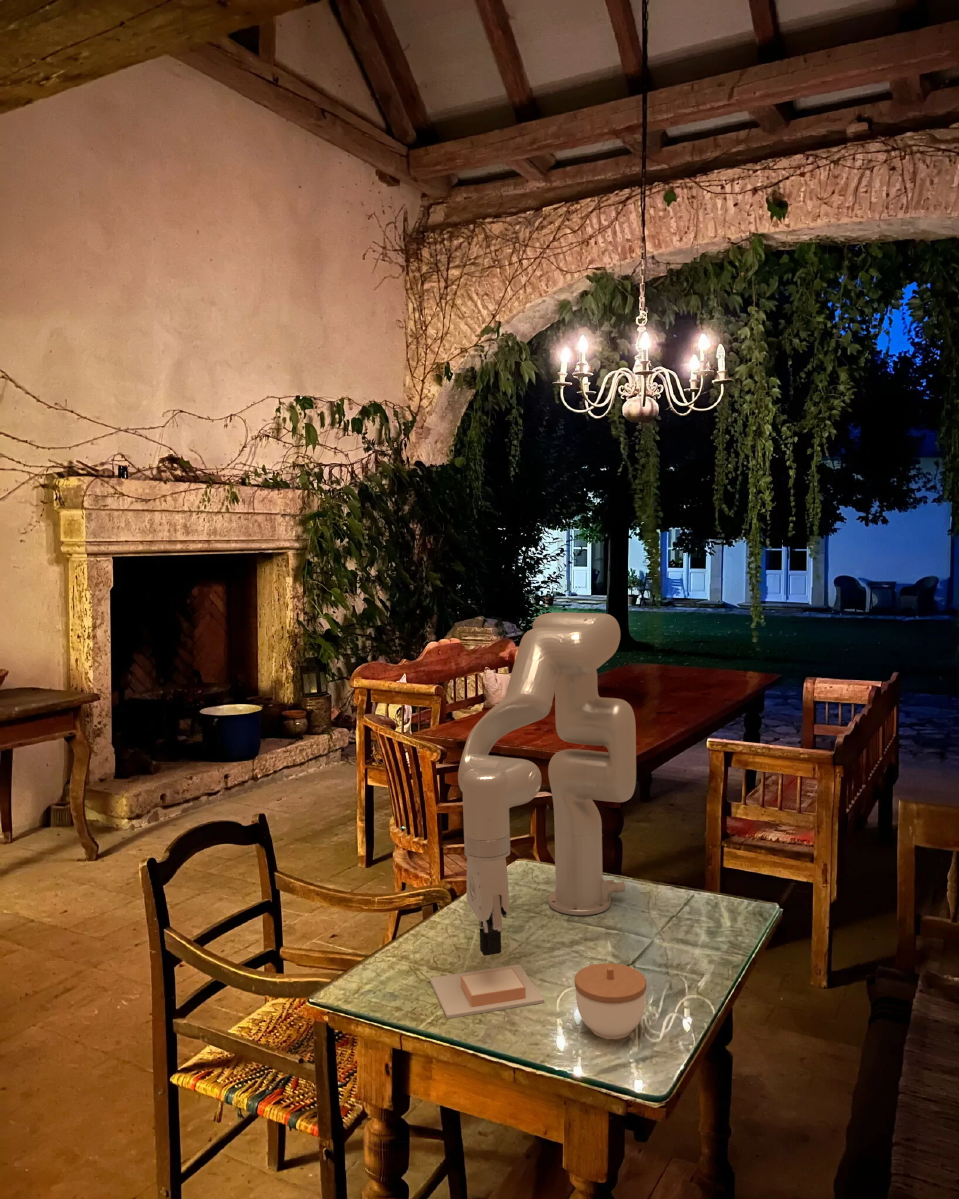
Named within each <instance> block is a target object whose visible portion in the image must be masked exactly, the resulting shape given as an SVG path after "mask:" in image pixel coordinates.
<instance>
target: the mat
mask: <svg viewBox="0 0 959 1199" xmlns="http://www.w3.org/2000/svg"><path fill="white" fill-rule="evenodd" d="M512 968H513V970H514V971H515V973H516V974H517V976H518V977H519V979H520V980H521V982H522V983H523V985H524V986H525V990H526V999H520V1000H513V1001H507V1002H501V1003H495V1004H489V1005H483V1006H477V1007H471V1005H470V1003H469V1001H468V1000H467V998H466V996H465V994H464V992H463V990H462V988H461V976H466V975H473V974H479V973H486V972H492V971H499V970H505V969H512ZM429 983H430V984H431V987H432V989H433V991H434V994H435V996H436V997H437V1000H438V1002H439V1004H440V1006H441V1008H442V1010H443V1012H444V1015H445V1017H446V1019H453V1018H454V1019H455V1018H460V1017H466V1016H472V1015H477V1014H484V1013H489V1012H496V1011H502V1010H508V1009H515V1008H520V1007H527V1006H532V1005H537V1004H545V999H544V997H543V996H542V994H541V993H540V991H539V990H538V989H537V987H536V986H535V984H534V983H533V982H532V980H531V978H530V977H529V976H528V974H527V973H526V971H525V970H524V969H523V967H522V965H521V964H512V965H507V966H506V965H505V966H500V967H493V968H492V967H491V968H485V969H481V970H480V969H479V970H473V971H472V970H471V971H466V972H460V973H453V974H447V975H439V976H433V977H429Z"/></svg>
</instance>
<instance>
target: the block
mask: <svg viewBox="0 0 959 1199" xmlns="http://www.w3.org/2000/svg"><path fill="white" fill-rule="evenodd" d="M461 988H462V990H463V992H464V994H465V996H466V998H467V1000H468V1001H469V1003H470V1005H471V1007H477V1006H483V1005H489V1004H495V1003H501V1002H507V1001H513V1000H520V999H526V990H525V986H524V985H523V983H522V982H521V980H520V979H519V977H518V976H517V974H516V973H515V971H514V970H513V968H512V969H505V970H499V971H492V972H486V973H479V974H473V975H466V976H461Z"/></svg>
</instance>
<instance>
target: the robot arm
mask: <svg viewBox="0 0 959 1199" xmlns="http://www.w3.org/2000/svg"><path fill="white" fill-rule="evenodd" d="M620 641H621V628H620V624H619V622H618V620H617V619H616V618H615V617H614V616H612V615H611V614H608V613H602V612H601V613H600V612H568V611H567V612H548V613H542V614H539V615H538V616H537V617H536V618H535V619H534V620H533V622H532V629H530V630H527V632H525V633H524V634H523V636H522V638H521V640H520V643H519V647H518V649H517V653H516V657H515V660H514V662H513V667H512V670H511V674H510V677H509V680H508V685H507V687H506V692H505V694H504V697H503V699H502V700H501V701H500V702H499V703H497V704H496V705H495V706H492V708H491V709H489V710H488V711H487V712H486V713H485V714H484V715H483V716H482V717H481V719H479V720H478V722H477V723H475V725H474V726H473V728H472V729H471V730H470V732H469V734H468V736H467V738H466V742H465V745H464V748H463V752H462V755H461V758H460V761H459V767H458V771H457V781H458V788H459V789H460V791H461V792H462V809H463V810H462V811H463V812H462V814H463V815H462V816H463V840H464V856H465V857H466V902H467V904H468V906H469V907H470V909H471V910H472V912H473V914H474V915H475V917H476V918H477V919H478V924H479V951H480V953H481V954H482V955H483V956H484V957H485V956H493V955H498V954H499V955H500V954H501V953H502V930H503V920H502V919H503V918H504V919H507V918H508V917H509V915H510V895H509V894H510V891H509V880H508V879H509V876H508V866H507V858H506V857H508V856H510V854H511V827H510V808H513V807H517V806H521V805H525V804H527V803H529V802H531V801H532V800H533V799H534V798H535V797H537V795H538V793H539V791H540V790H541V787H542V786H541V785H542V773H541V771H540V768H539V767H538V766H537V765H536V764H535V763H534V762H532V761H530V760H528V759H524V758H516V757H515V758H514V757H507V756H499V755H489V754H490V752H491V750H492V748H493V747H494V745H495V744H496V743H497V742H498V741H499V740H500V739H502V738H503V737H504V736H506V735H507V734H509V733H511V732H513V731H516V730H517V729H520V728H523V727H526V726H528V725H530V724H533V723H536V722H539V721H541V720H543V719H544V718H546V717H547V716H548V715H549V714H550V712H551V709H552V705H553V702H554V705H555V707H554V710H555V713H554V714H555V715H554V716H555V729H556V730H555V731H556V734H557V736H558V738H560V739H561V740H562V741H563V742H566V743H571V744H578V745H589V746H600V747H601V746H602V747H605V748H606V749H607V751H608V752H607V751H597V750H589V749H576V748H567V749H562V750H559V751H558V752H555V754H553V755H552V757H551V758H550V761H549V763H548V766H547V767H548V769H547V773H548V781H549V785H550V790H551V797H552V803H553V816H554V817H553V820H554V823H553V824H554V863H555V864H554V865H555V866H554V867H555V890H554V891H552V892H551V893H550V895H548V902H547V903H548V906H549V907H550V908H551V909H552V910H554V911H556V912H558V913H561V914H565V915H570V916H591V915H592V916H593V915H596V914H600V913H602V912H605V911H607V910H608V909H609V908H610V907H611V906H612V905H611V904H612V903H611V902H612V901H611V897H610V896H611V895H612V893H623V892H626V890H627V888H626V884H625V882H624V881H618V882H615V880H614V879H608V880H604V879H603V825H602V824H603V823H602V822H603V821H602V817H601V814H600V811H599V809H598V807H597V805H596V803H595V802H594V801H600V802H601V801H603V802H612V803H613V802H614V803H624V802H627V801H628V800H631V798H632V797H633V795H634V793H635V789H636V785H637V734H636V733H637V732H636V731H637V729H636V728H637V727H636V726H637V725H636V717H635V716H636V715H635V712H634V709H633V707H632V705H631V704H630V703H629V702H627V701H626V700H624V699H622V698H617V697H616V698H615V697H601V696H600V695H599V691H598V690H599V689H598V671H597V669H599V668H600V667H602V665H604V664H605V663H606V662H607V661H609V660H610V658H612V657H613V656H614V654H615V653H616V652H617V650H618V648H619V645H620ZM554 699H555V700H554ZM553 700H554V701H553ZM593 800H594V801H593Z"/></svg>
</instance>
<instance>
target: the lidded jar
mask: <svg viewBox="0 0 959 1199" xmlns="http://www.w3.org/2000/svg"><path fill="white" fill-rule="evenodd" d="M574 987H575V988H574V989H575V999H576V1000H575V1001H576V1005H577V1010H578V1013H579V1015H580V1017H581V1019H582V1021H583V1023H584V1024H585V1025H586V1026H587V1027H588V1028H589V1029H590V1030H591V1032H592V1033H593V1035H595V1036H597V1037H599V1038H601V1039H605V1040H621V1039H624V1038H627V1037H628V1036H629V1035H630V1034H631V1033H632V1031H634V1029H636V1028H637V1027H638V1025H639V1024H640V1022H641V1021H642V1018H643V1016H644V1012H645V1009H646V1001H647V1000H646V999H647V998H646V997H647V996H646V995H647V994H646V990H647V979H646V977H645V976H644V975H643V973H641V972H640V971H639V970H638V969H636V968H633V967H631V966H627V965H626V964H625V965H624V964H620V963H609V962H607V963H597V964H596V963H595V964H590V965H588V966H585V967H583V968H580V969H579V970H578V972H577V973H576V974H575V976H574Z"/></svg>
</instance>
